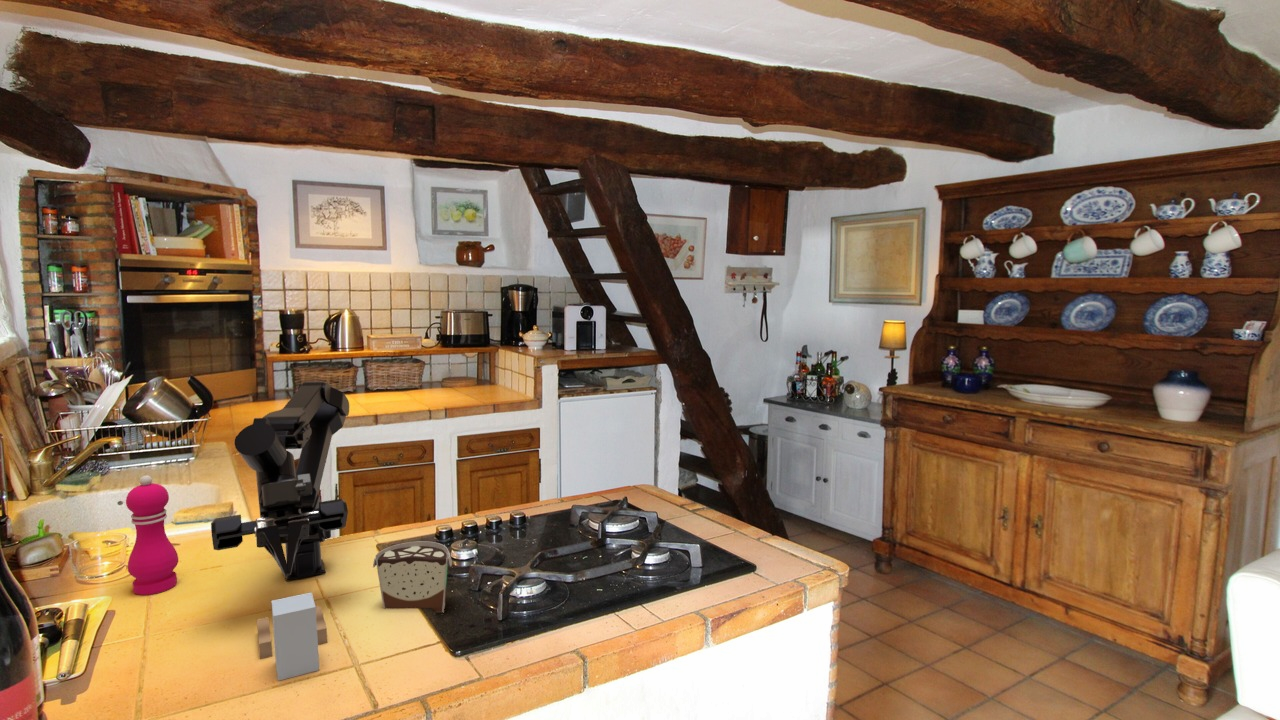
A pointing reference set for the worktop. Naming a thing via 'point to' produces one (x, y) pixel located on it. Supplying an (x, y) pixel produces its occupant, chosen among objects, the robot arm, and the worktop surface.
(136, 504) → the pepper mill
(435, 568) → the food container
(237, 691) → the worktop surface
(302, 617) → the block
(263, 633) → the tan cradle
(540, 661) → the worktop surface
